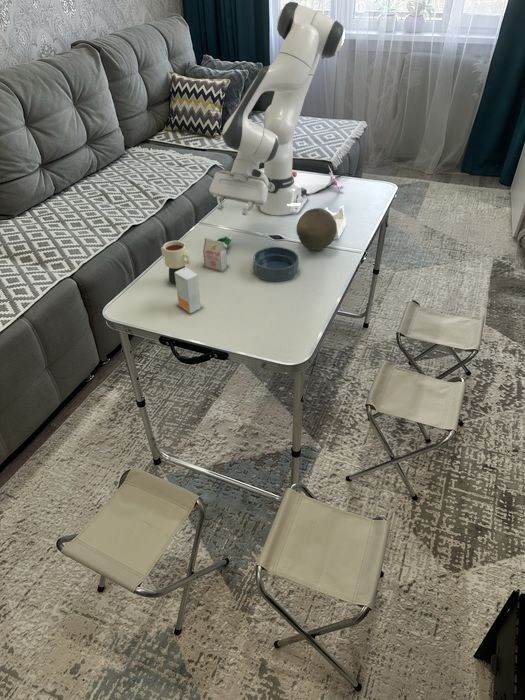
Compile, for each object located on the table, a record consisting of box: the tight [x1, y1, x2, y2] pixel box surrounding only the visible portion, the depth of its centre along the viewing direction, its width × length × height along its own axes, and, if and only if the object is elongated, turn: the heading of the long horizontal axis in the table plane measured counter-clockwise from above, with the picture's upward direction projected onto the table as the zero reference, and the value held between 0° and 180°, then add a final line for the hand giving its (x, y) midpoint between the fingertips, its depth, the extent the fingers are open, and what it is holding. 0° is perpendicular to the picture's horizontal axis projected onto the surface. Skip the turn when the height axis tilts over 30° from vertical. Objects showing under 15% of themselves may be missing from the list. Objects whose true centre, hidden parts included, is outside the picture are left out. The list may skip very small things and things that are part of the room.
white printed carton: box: [202, 237, 228, 272], centre depth 170 cm, size 4×7×10 cm, turn 63°
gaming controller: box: [216, 235, 232, 250], centre depth 182 cm, size 9×4×6 cm
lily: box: [323, 166, 342, 193], centre depth 222 cm, size 12×12×10 cm
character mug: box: [160, 240, 191, 286], centre depth 162 cm, size 11×7×13 cm, turn 60°
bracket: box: [323, 205, 347, 240], centre depth 191 cm, size 13×7×8 cm, turn 160°
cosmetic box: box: [175, 267, 202, 314], centre depth 151 cm, size 6×4×12 cm
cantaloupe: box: [296, 207, 337, 252], centre depth 178 cm, size 14×14×15 cm
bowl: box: [252, 246, 300, 282], centre depth 170 cm, size 15×15×5 cm
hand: (231, 212), depth 172 cm, fingers open, 8 cm apart
